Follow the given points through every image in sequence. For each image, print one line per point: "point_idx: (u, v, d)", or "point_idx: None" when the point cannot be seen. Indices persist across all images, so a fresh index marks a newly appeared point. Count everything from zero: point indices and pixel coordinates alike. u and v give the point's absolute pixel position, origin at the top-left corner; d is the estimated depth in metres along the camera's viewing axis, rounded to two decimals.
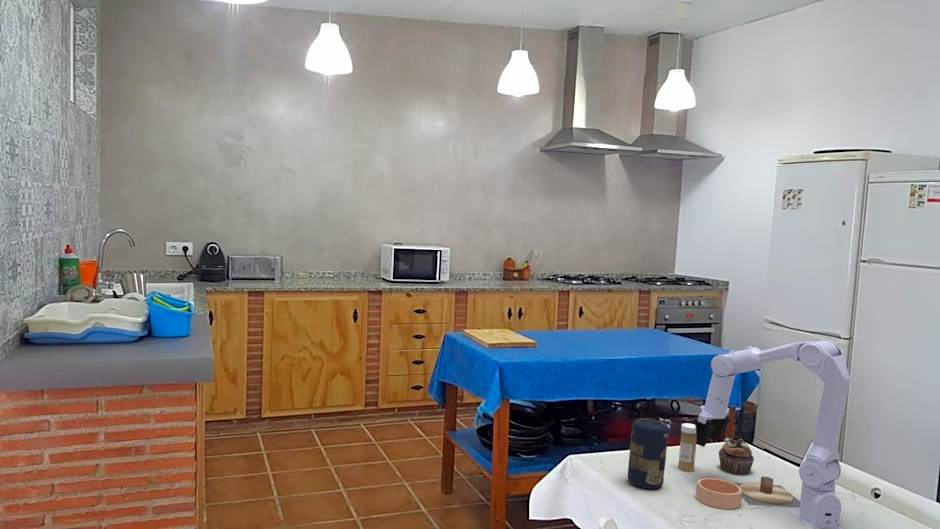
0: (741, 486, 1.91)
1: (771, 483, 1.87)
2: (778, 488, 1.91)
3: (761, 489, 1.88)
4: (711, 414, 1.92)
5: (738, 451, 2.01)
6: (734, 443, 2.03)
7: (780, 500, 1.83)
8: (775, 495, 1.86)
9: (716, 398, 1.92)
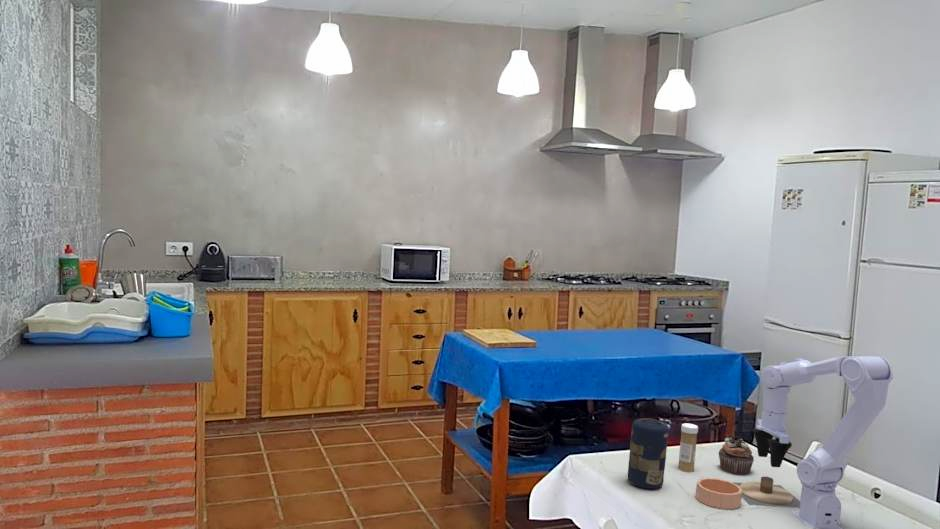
0: (741, 486, 1.91)
1: (771, 483, 1.87)
2: (778, 488, 1.91)
3: (761, 489, 1.88)
4: (779, 431, 1.84)
5: (738, 451, 2.01)
6: (734, 443, 2.03)
7: (780, 500, 1.83)
8: (775, 495, 1.86)
9: (781, 413, 1.84)
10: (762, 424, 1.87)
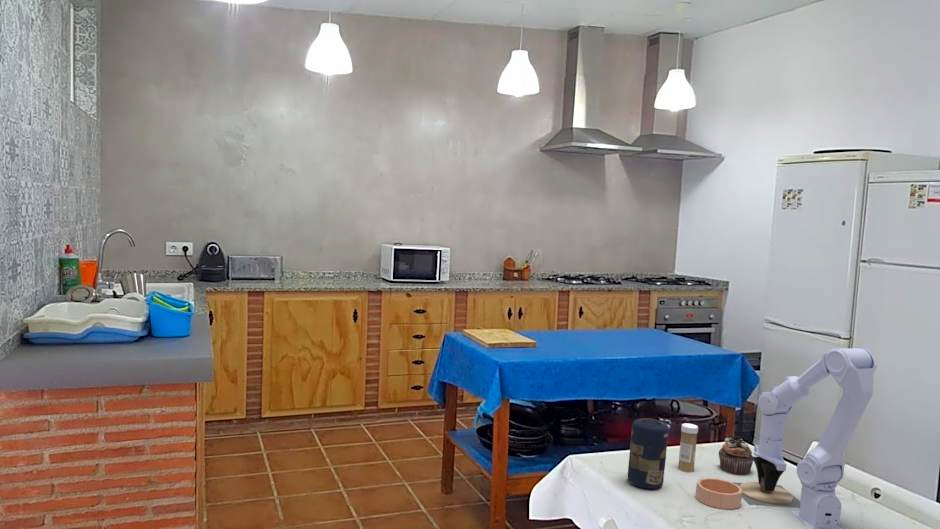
0: (741, 486, 1.91)
1: None
2: (778, 488, 1.91)
3: (761, 489, 1.88)
4: (776, 458, 1.84)
5: (737, 451, 2.01)
6: (734, 443, 2.03)
7: (780, 500, 1.83)
8: (775, 495, 1.86)
9: (779, 440, 1.84)
10: (759, 450, 1.87)
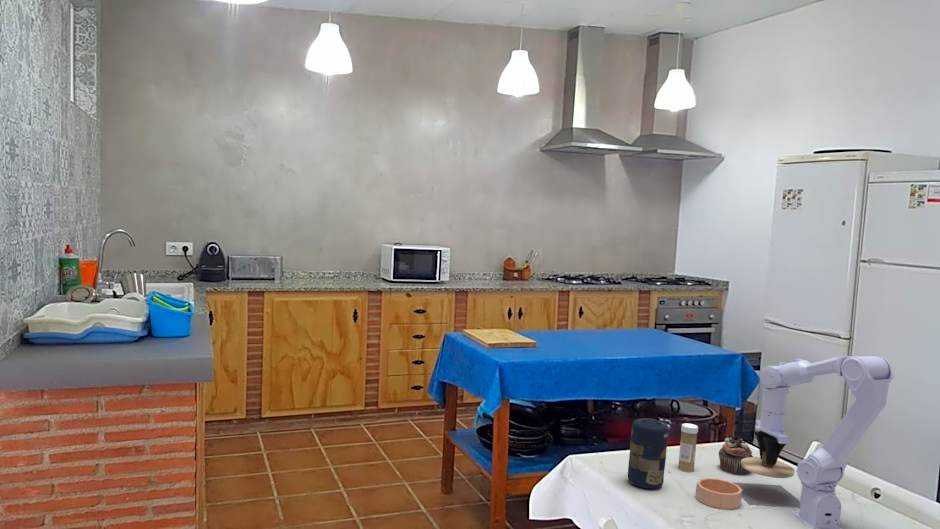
0: (742, 460, 1.90)
1: None
2: (780, 463, 1.90)
3: (763, 463, 1.87)
4: (778, 431, 1.84)
5: (738, 451, 2.01)
6: (734, 443, 2.03)
7: (782, 473, 1.82)
8: (777, 469, 1.85)
9: (780, 413, 1.84)
10: (761, 424, 1.86)
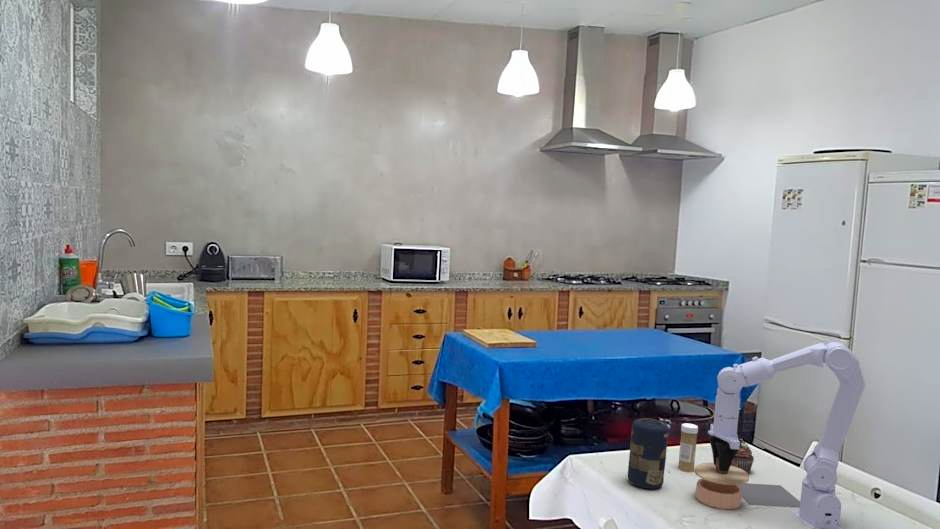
0: (696, 467, 1.84)
1: None
2: (734, 468, 1.84)
3: (716, 470, 1.81)
4: (731, 436, 1.77)
5: None
6: None
7: (736, 480, 1.76)
8: (731, 475, 1.79)
9: (733, 418, 1.77)
10: (714, 429, 1.80)
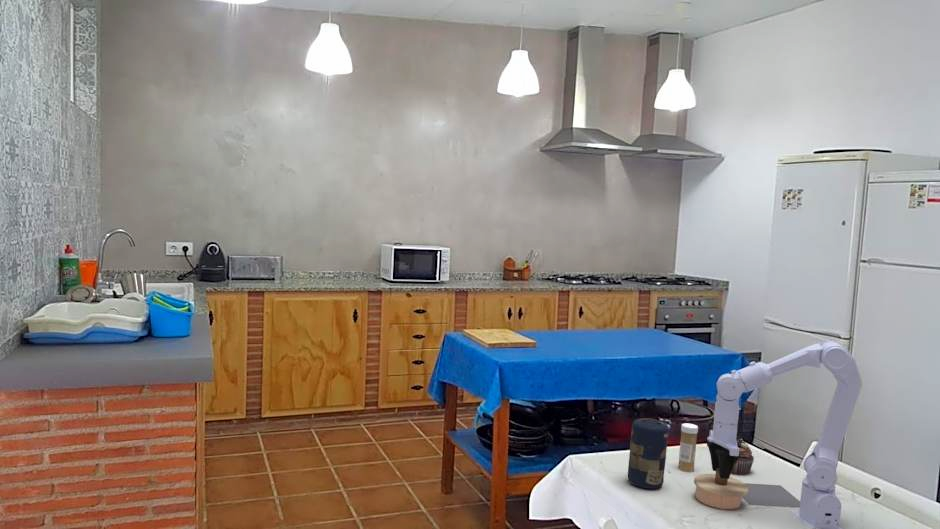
0: (696, 478, 1.84)
1: None
2: (734, 479, 1.84)
3: (716, 481, 1.81)
4: (730, 443, 1.78)
5: None
6: None
7: (735, 492, 1.76)
8: (730, 487, 1.79)
9: (732, 424, 1.78)
10: (713, 436, 1.80)
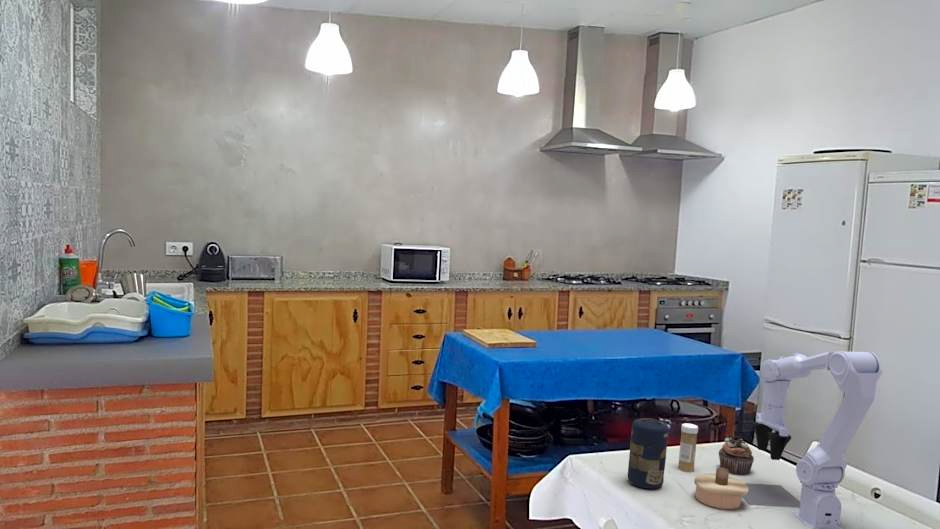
0: (696, 478, 1.84)
1: (726, 474, 1.80)
2: (734, 479, 1.85)
3: (716, 480, 1.81)
4: (779, 424, 1.87)
5: (738, 451, 2.01)
6: (734, 443, 2.03)
7: (735, 492, 1.76)
8: (730, 486, 1.79)
9: (781, 407, 1.87)
10: (762, 418, 1.89)
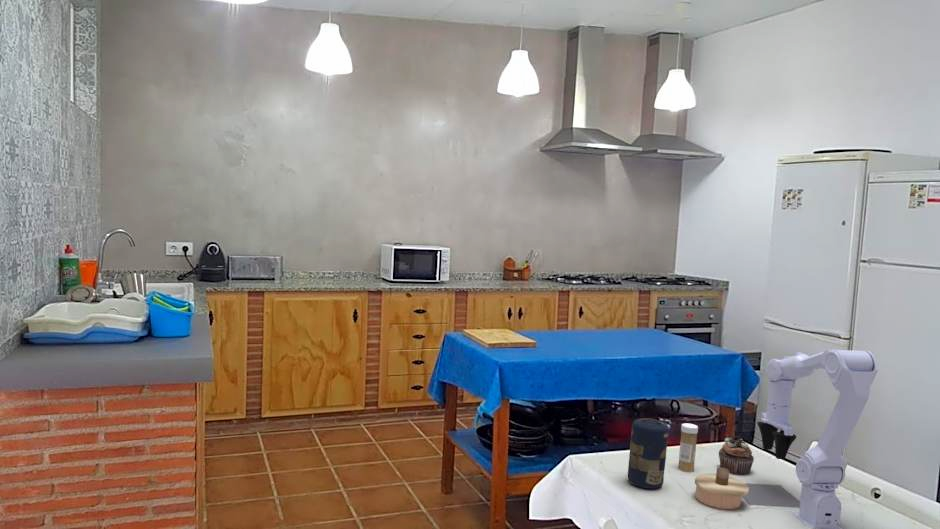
0: (696, 478, 1.84)
1: (727, 474, 1.80)
2: (734, 479, 1.85)
3: (717, 481, 1.81)
4: (784, 424, 1.88)
5: (737, 451, 2.01)
6: (734, 443, 2.03)
7: (736, 492, 1.76)
8: (731, 487, 1.79)
9: (786, 406, 1.88)
10: (767, 417, 1.91)
